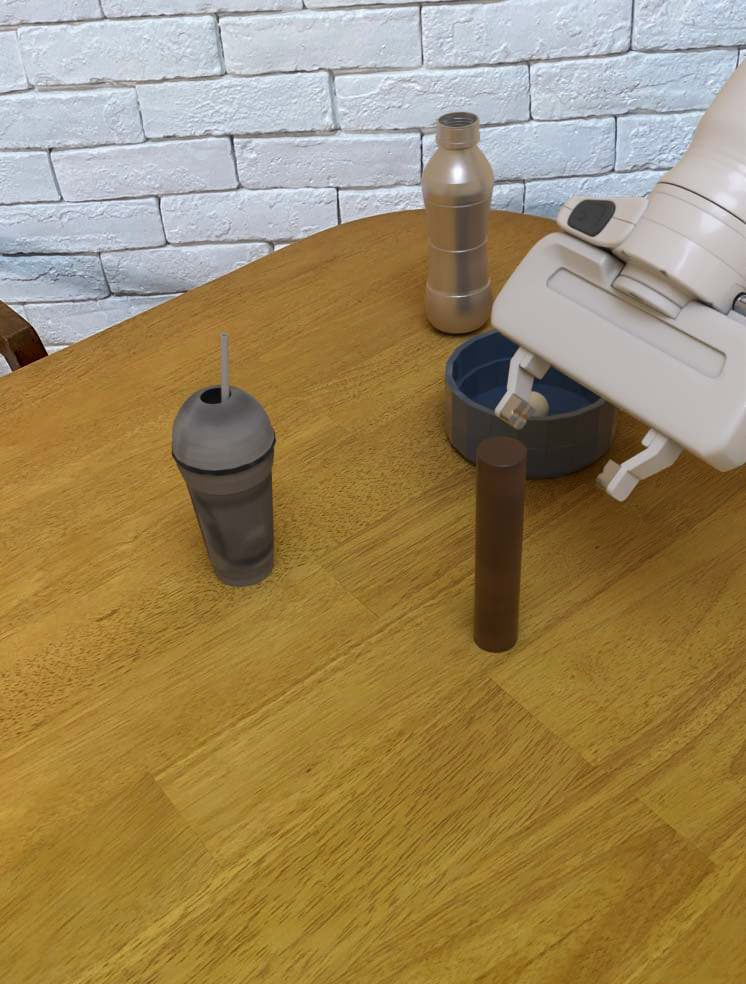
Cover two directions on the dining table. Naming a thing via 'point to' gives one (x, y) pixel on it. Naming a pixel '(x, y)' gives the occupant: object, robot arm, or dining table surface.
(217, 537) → the beverage cup
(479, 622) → the stick
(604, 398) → the robot arm
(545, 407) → the dough ball
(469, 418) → the bowl
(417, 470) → the dining table surface
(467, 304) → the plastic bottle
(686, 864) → the dining table surface
